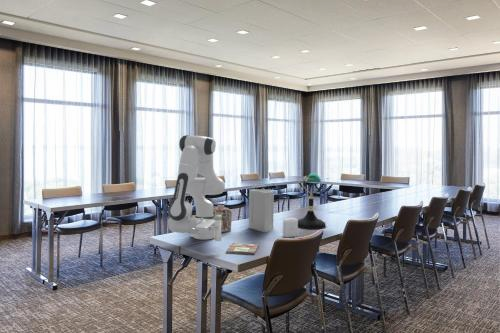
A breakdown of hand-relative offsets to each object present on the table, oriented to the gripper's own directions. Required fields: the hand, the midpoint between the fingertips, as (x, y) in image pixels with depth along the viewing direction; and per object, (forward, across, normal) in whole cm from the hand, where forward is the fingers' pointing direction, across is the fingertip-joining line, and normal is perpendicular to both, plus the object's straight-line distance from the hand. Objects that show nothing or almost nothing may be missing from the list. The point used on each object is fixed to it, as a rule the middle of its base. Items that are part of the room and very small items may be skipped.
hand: (219, 227), depth 218 cm
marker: (-1, 0, +8) cm, 8 cm away
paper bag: (+17, +66, +16) cm, 70 cm away
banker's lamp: (+50, +83, +16) cm, 99 cm away
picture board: (+12, +7, +14) cm, 20 cm away
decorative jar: (-13, +52, +15) cm, 55 cm away
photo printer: (+37, +46, +15) cm, 61 cm away
